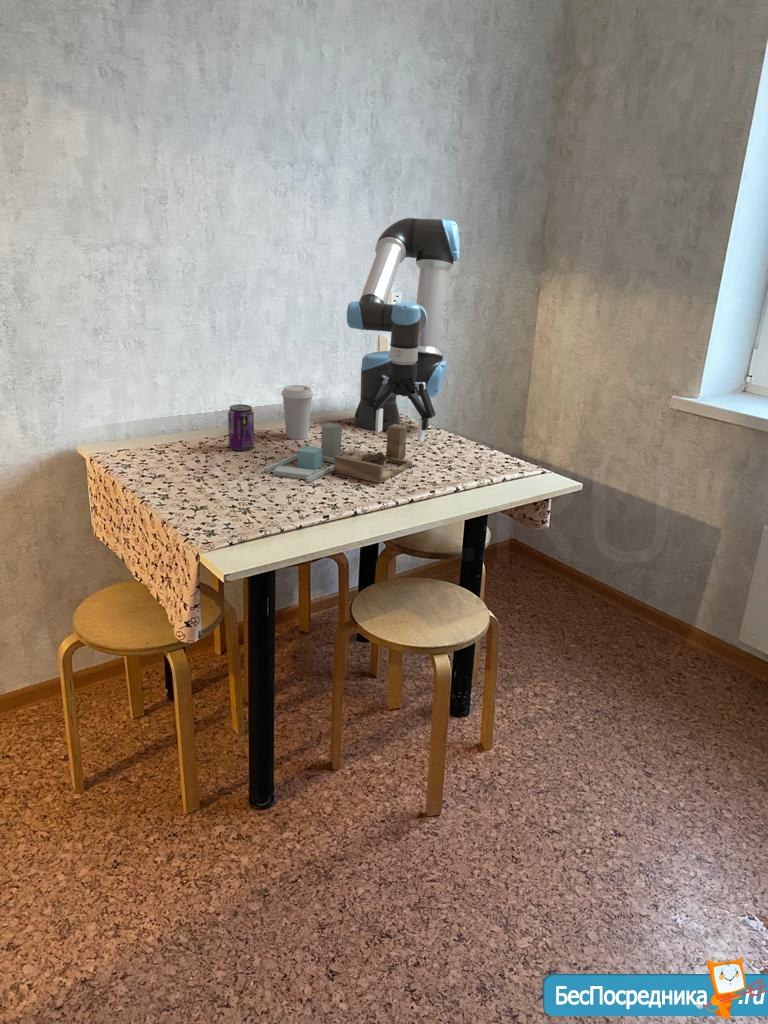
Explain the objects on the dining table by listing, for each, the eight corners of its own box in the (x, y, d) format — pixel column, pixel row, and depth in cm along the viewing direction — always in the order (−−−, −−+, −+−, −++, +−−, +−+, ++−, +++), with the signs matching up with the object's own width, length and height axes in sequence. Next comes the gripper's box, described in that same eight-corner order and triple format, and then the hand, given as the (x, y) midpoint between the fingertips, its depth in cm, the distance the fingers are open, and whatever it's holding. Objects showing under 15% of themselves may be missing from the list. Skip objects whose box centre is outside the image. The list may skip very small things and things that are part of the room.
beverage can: (251, 452, 218) (251, 410, 213) (226, 450, 218) (225, 409, 213) (256, 444, 224) (255, 404, 220) (231, 443, 224) (230, 403, 220)
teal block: (305, 463, 212) (305, 445, 210) (322, 465, 210) (322, 448, 208) (297, 468, 207) (297, 450, 205) (314, 471, 206) (314, 453, 204)
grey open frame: (314, 450, 222) (314, 419, 218) (356, 459, 216) (357, 428, 212) (264, 471, 203) (263, 438, 199) (308, 482, 196) (308, 448, 193)
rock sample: (370, 448, 214) (373, 435, 205) (386, 470, 212) (390, 458, 204) (339, 467, 211) (342, 455, 202) (356, 489, 209) (359, 478, 201)
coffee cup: (297, 443, 228) (298, 393, 222) (274, 436, 233) (274, 387, 228) (319, 436, 235) (320, 388, 229) (296, 430, 240) (296, 382, 235)
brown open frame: (377, 451, 224) (379, 420, 220) (420, 460, 218) (422, 429, 214) (333, 472, 205) (334, 439, 201) (379, 483, 198) (381, 449, 195)
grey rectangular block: (279, 469, 205) (279, 465, 204) (315, 474, 203) (315, 470, 202) (273, 475, 201) (273, 470, 200) (309, 479, 199) (309, 475, 198)
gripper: (357, 357, 213) (355, 431, 221) (438, 371, 202) (433, 448, 210) (370, 353, 219) (368, 424, 227) (450, 366, 208) (445, 440, 216)
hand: (399, 436), depth 219 cm, fingers open, 13 cm apart
